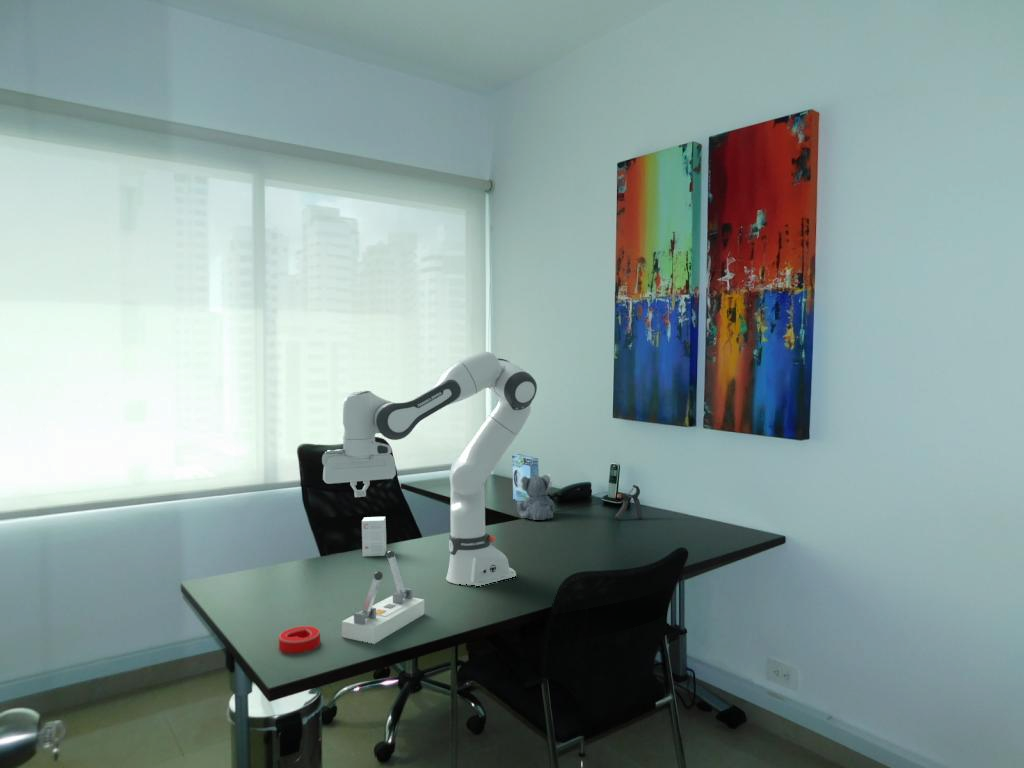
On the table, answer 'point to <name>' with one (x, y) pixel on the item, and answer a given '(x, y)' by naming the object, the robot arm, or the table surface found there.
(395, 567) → the lever
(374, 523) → the small box
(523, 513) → the koala plush
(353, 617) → the switch unit
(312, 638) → the decorative ornament
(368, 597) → the lever
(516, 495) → the light blue product box
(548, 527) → the table surface
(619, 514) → the hand grip strengthener
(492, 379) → the robot arm
